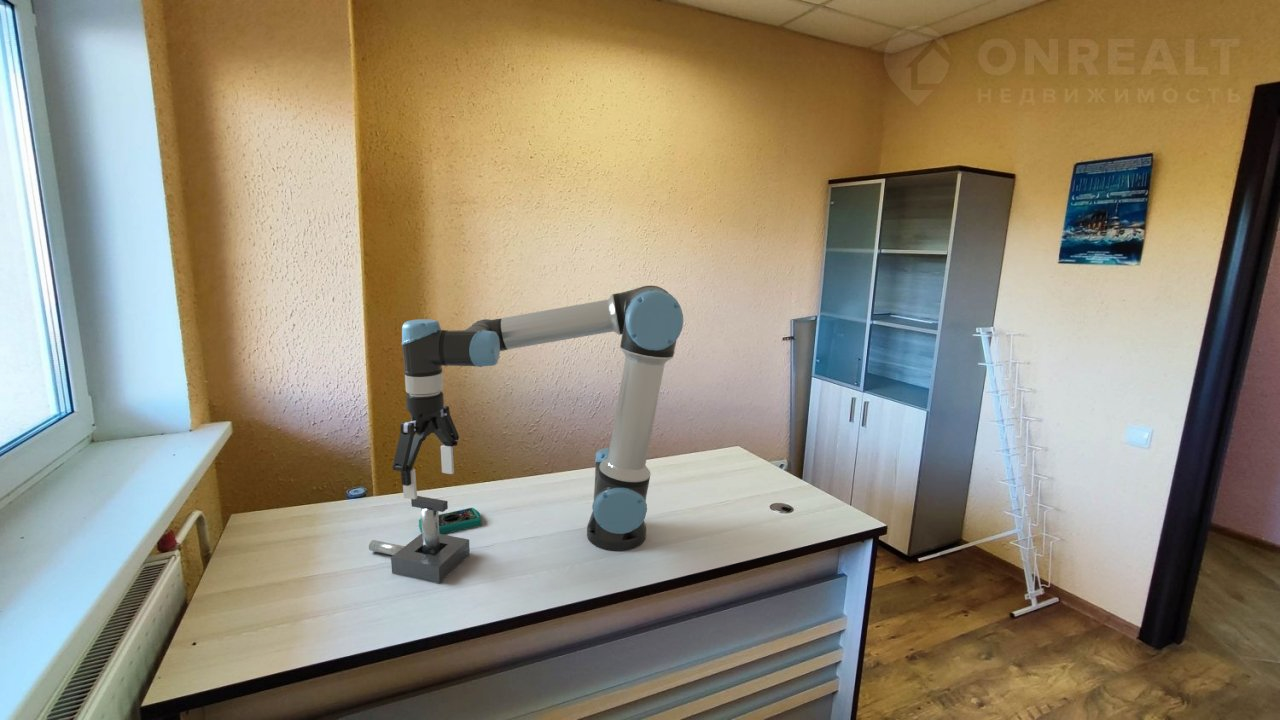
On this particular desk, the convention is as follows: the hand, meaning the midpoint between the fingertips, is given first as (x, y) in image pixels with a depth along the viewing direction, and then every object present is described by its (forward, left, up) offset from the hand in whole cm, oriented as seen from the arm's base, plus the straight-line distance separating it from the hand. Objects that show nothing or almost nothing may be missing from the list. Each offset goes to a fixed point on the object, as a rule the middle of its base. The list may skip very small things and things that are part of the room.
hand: (430, 484), depth 126 cm
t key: (0, 0, -19) cm, 19 cm away
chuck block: (+5, 0, -19) cm, 20 cm away
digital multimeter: (+6, -16, -20) cm, 27 cm away
